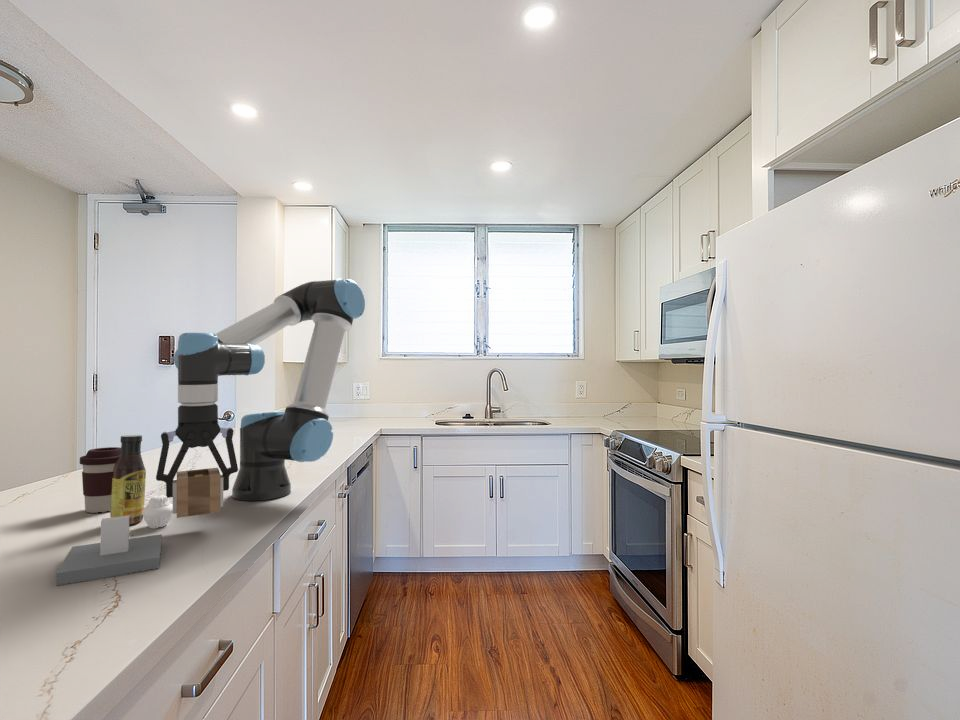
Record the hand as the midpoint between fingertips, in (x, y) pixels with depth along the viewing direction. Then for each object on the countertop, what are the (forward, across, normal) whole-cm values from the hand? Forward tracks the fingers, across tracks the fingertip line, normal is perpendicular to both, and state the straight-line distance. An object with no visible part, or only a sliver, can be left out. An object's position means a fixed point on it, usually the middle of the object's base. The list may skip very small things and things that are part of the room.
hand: (198, 508), depth 107 cm
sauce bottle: (+5, +14, -15) cm, 21 cm away
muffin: (+5, +8, -9) cm, 13 cm away
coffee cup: (+5, +20, -31) cm, 37 cm away
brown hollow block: (0, 0, 0) cm, 0 cm away
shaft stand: (+4, +14, +12) cm, 19 cm away
